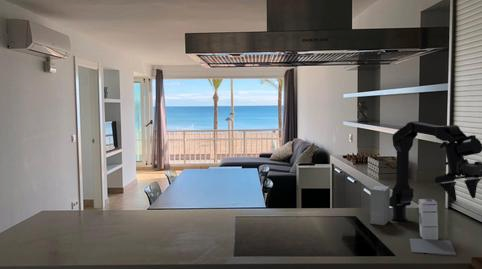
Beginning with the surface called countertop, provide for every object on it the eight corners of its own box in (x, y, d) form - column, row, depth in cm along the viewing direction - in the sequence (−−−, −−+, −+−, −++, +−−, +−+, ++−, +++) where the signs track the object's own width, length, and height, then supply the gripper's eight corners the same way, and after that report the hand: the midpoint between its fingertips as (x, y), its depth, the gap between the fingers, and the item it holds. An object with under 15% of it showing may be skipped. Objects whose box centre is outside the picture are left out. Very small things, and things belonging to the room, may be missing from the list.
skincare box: (375, 219, 190) (374, 184, 189) (391, 221, 185) (390, 185, 185) (369, 223, 183) (368, 188, 182) (385, 226, 179) (384, 189, 178)
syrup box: (438, 239, 158) (438, 202, 157) (422, 239, 159) (421, 202, 158) (434, 235, 163) (434, 198, 162) (418, 235, 164) (418, 198, 164)
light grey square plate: (409, 239, 160) (409, 238, 160) (450, 241, 155) (450, 240, 155) (411, 252, 146) (411, 251, 146) (456, 255, 141) (456, 254, 141)
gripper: (453, 156, 147) (463, 201, 144) (492, 152, 153) (502, 195, 151) (429, 161, 157) (438, 203, 154) (466, 157, 163) (476, 197, 161)
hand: (464, 199), depth 155 cm, fingers open, 9 cm apart
